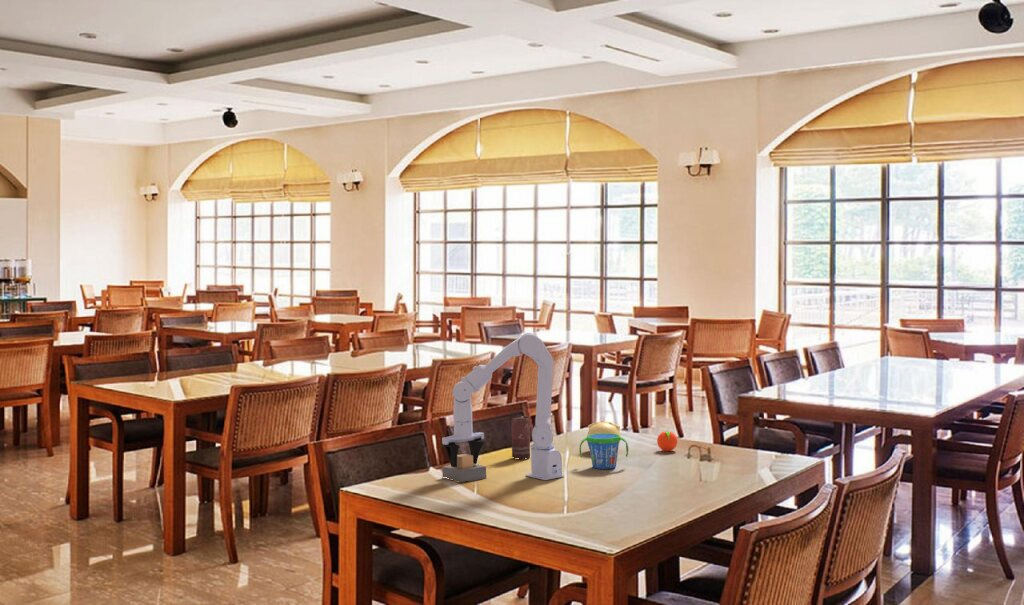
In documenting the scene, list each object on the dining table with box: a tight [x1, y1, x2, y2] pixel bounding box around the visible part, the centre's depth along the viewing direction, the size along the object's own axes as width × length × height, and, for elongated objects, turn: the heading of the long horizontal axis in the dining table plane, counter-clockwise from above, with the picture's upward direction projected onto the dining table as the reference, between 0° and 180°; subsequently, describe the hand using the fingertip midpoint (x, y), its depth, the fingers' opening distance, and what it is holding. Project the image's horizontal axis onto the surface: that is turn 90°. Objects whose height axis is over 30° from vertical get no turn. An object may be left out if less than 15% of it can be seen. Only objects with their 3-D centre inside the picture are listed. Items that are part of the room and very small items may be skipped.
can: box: [510, 415, 531, 459], centre depth 334 cm, size 6×6×14 cm
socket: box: [441, 463, 487, 483], centre depth 304 cm, size 10×10×4 cm
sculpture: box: [586, 420, 621, 448], centre depth 343 cm, size 12×12×11 cm
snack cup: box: [579, 433, 629, 470], centre depth 315 cm, size 16×10×10 cm
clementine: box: [656, 430, 678, 452], centre depth 341 cm, size 8×7×7 cm
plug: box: [456, 453, 473, 469], centre depth 303 cm, size 4×4×6 cm
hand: (464, 465), depth 303 cm, fingers open, 7 cm apart
